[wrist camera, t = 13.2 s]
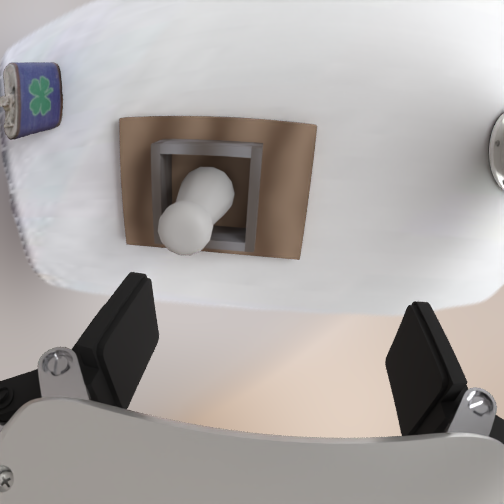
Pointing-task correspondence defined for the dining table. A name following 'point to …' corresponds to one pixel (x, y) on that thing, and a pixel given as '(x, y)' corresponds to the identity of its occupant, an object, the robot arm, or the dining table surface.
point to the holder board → (235, 167)
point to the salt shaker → (196, 210)
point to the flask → (31, 98)
